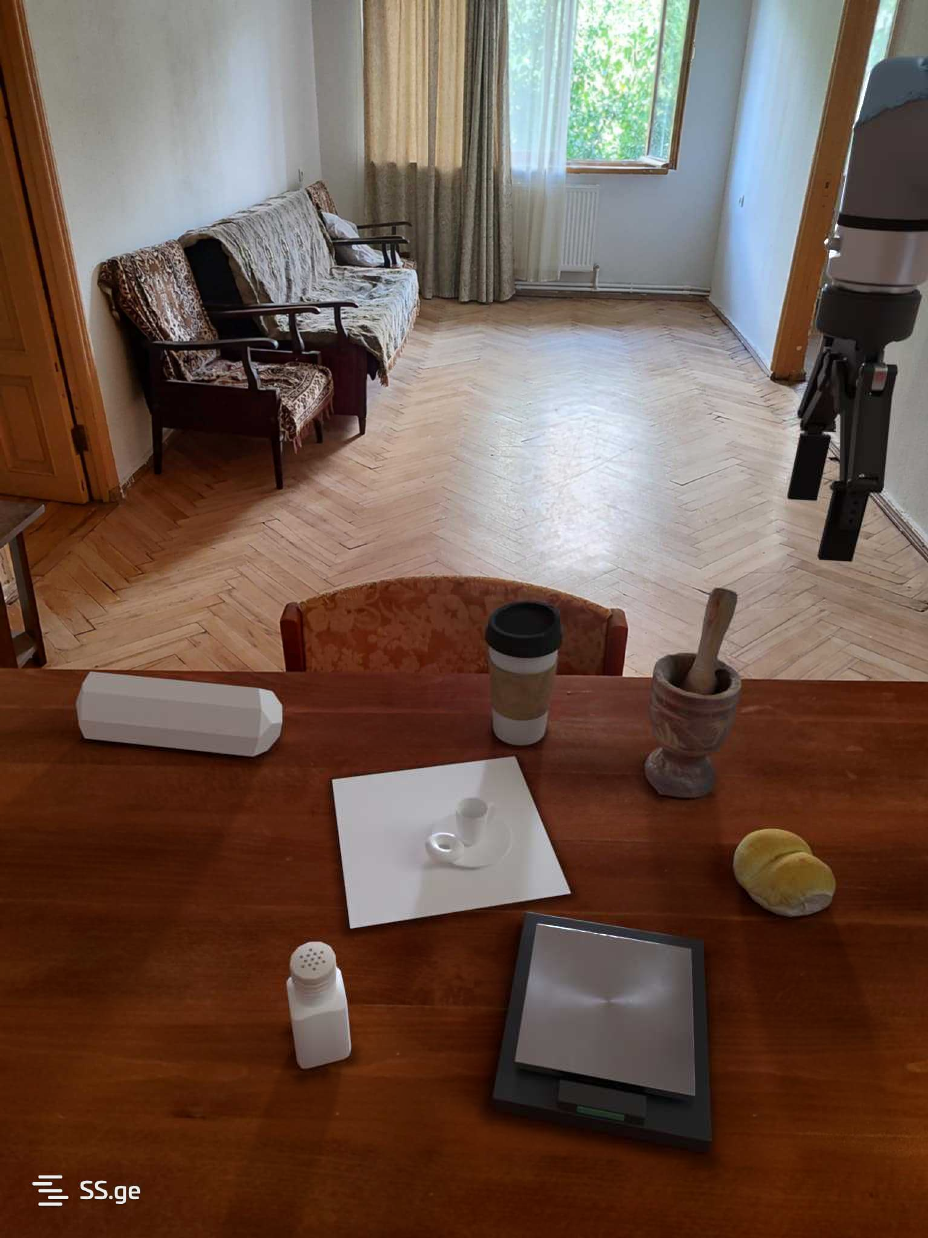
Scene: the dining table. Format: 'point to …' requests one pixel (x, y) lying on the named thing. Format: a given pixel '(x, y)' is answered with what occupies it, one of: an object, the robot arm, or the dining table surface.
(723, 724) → the mortar and pestle
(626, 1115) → the scale
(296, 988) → the salt shaker
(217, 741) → the crystal
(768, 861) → the bread roll
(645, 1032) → the scale pan
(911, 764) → the dining table surface
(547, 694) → the coffee cup
